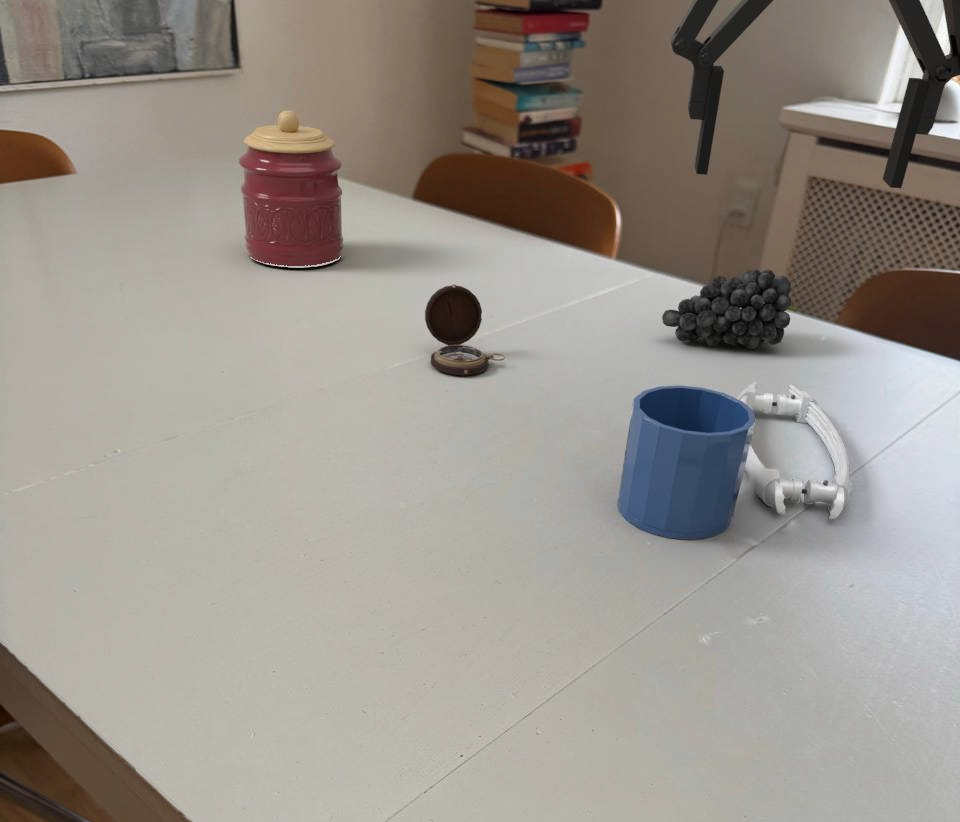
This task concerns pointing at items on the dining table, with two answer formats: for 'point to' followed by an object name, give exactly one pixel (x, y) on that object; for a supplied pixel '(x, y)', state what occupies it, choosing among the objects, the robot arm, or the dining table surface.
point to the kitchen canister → (291, 195)
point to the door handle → (778, 490)
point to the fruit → (735, 311)
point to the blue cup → (684, 461)
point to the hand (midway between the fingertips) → (795, 177)
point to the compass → (456, 331)
